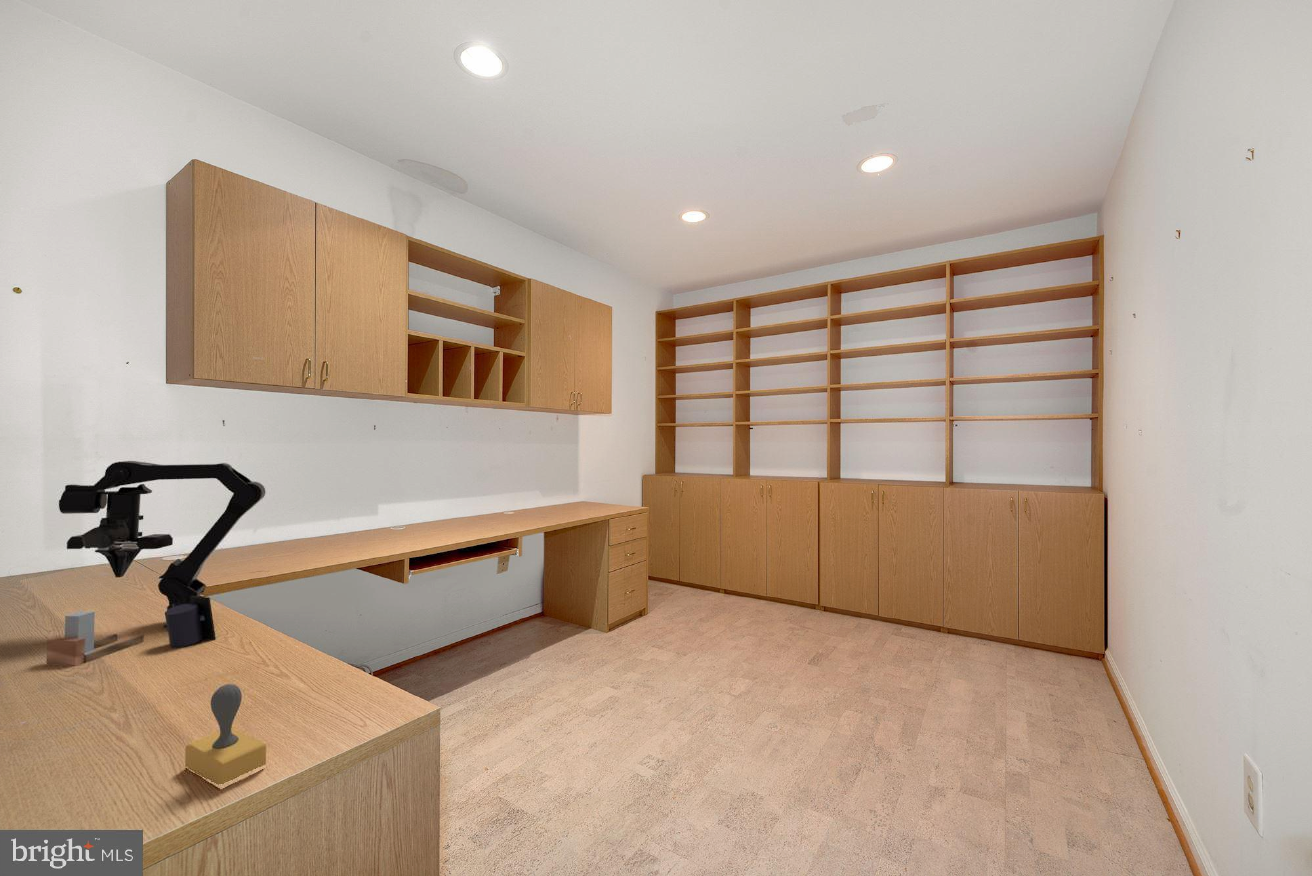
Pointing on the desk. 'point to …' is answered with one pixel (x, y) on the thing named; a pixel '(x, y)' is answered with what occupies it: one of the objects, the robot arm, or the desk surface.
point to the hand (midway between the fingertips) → (119, 577)
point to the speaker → (190, 622)
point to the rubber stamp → (225, 743)
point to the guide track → (83, 649)
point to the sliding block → (81, 628)
